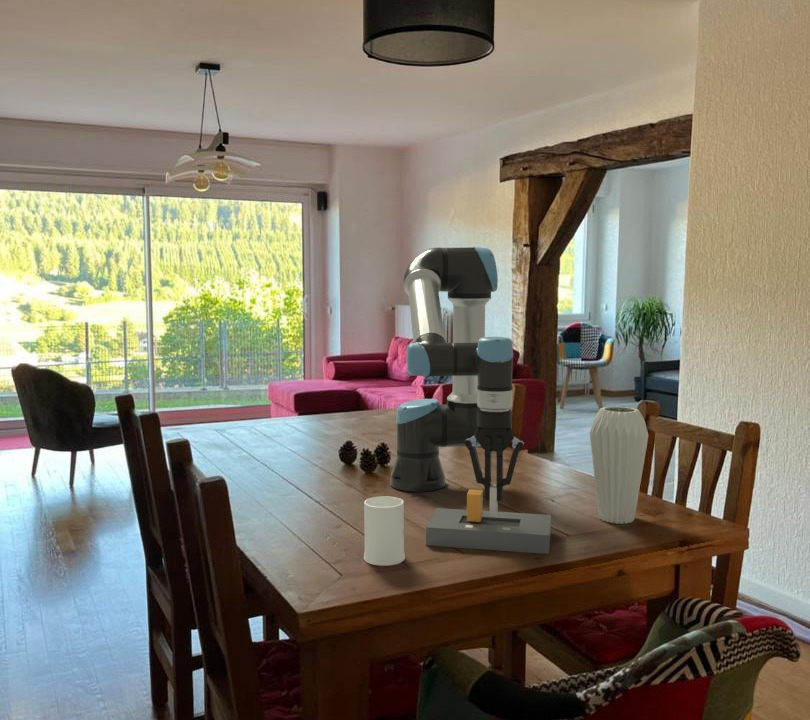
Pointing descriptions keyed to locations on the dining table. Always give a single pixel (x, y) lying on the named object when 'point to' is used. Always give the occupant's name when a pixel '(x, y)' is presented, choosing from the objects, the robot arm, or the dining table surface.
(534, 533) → the panel
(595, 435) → the vase
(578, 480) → the dining table surface
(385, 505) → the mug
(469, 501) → the toggle
